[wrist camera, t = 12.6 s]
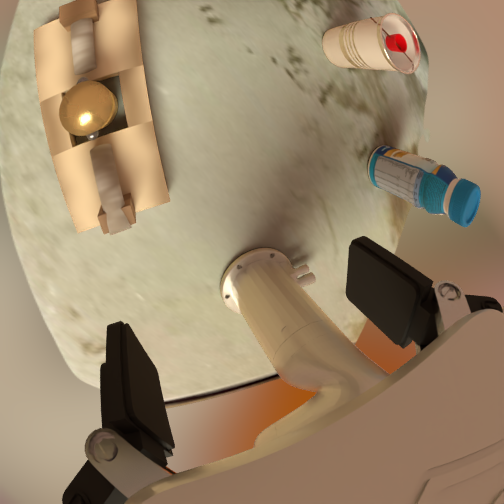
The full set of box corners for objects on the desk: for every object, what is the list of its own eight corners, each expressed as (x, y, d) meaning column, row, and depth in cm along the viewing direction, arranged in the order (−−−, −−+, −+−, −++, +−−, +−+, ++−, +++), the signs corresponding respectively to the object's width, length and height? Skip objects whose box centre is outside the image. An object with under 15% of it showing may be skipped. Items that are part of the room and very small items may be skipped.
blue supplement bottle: (358, 167, 42) (458, 213, 26) (382, 134, 41) (481, 168, 25) (377, 195, 47) (462, 243, 31) (399, 163, 46) (484, 202, 30)
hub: (113, 77, 22) (106, 66, 16) (122, 127, 26) (118, 132, 19) (73, 92, 21) (54, 86, 14) (83, 141, 24) (67, 151, 18)
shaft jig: (135, 1, 18) (137, -27, 11) (168, 197, 32) (178, 220, 26) (40, 34, 14) (17, 18, 8) (81, 226, 29) (71, 258, 23)
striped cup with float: (305, 50, 29) (368, 40, 19) (324, 11, 26) (385, -4, 16) (352, 84, 34) (415, 90, 24) (368, 47, 31) (427, 46, 22)
